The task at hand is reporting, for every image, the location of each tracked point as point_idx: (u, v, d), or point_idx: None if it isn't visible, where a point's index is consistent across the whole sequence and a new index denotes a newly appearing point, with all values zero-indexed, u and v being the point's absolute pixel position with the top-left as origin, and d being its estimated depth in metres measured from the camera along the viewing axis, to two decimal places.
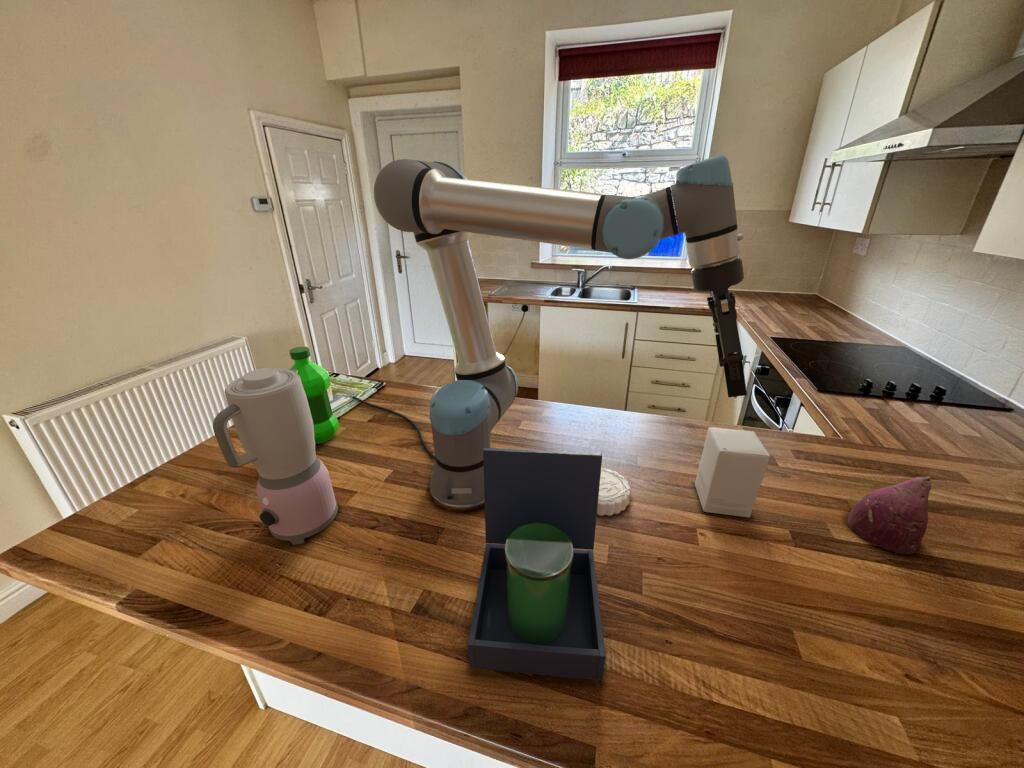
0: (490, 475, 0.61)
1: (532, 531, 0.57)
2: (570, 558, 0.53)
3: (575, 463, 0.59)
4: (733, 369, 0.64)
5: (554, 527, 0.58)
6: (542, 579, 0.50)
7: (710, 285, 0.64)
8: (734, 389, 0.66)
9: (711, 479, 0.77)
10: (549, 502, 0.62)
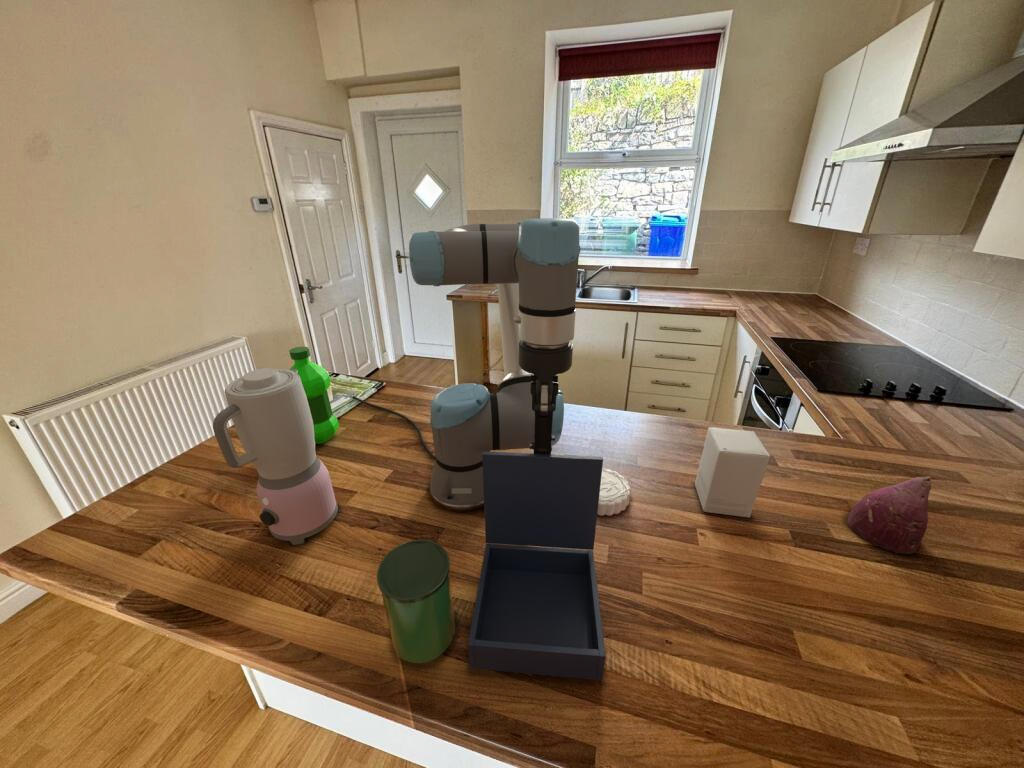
0: (489, 478, 0.61)
1: (413, 549, 0.55)
2: (442, 578, 0.51)
3: (575, 467, 0.58)
4: None
5: (437, 545, 0.56)
6: (407, 601, 0.49)
7: None
8: None
9: (711, 479, 0.77)
10: (549, 505, 0.62)
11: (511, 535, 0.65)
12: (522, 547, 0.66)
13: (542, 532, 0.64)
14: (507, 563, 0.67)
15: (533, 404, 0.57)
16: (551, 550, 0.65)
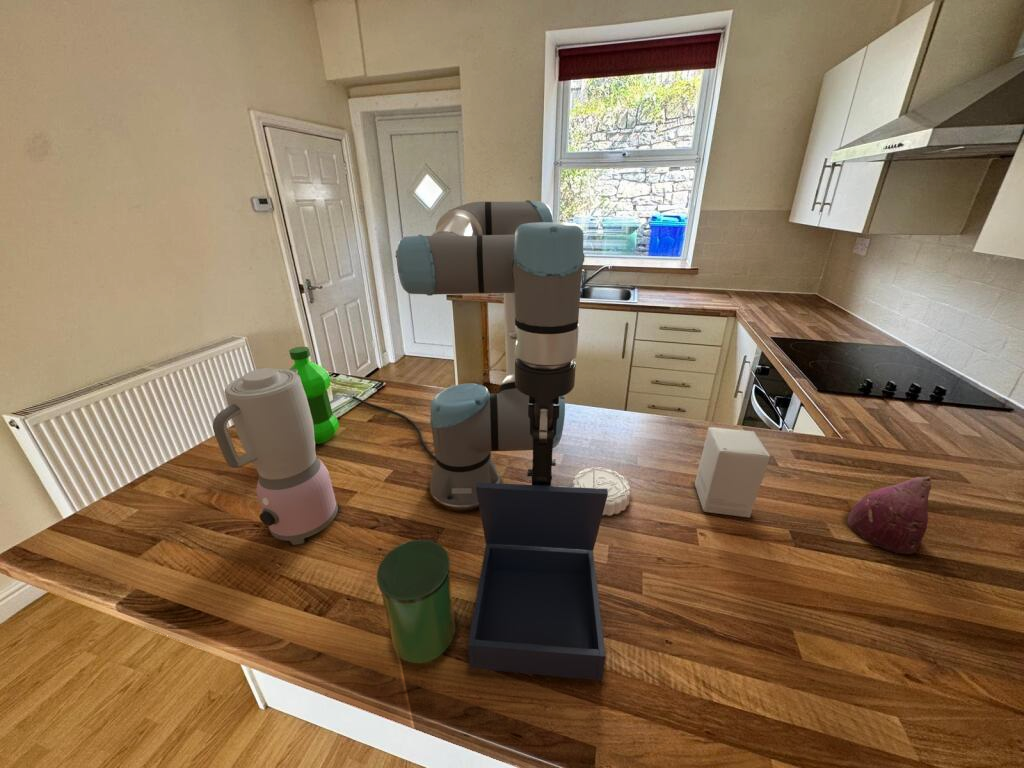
0: (485, 504, 0.57)
1: (413, 549, 0.55)
2: (442, 578, 0.51)
3: (577, 498, 0.54)
4: None
5: (437, 545, 0.56)
6: (407, 601, 0.49)
7: None
8: None
9: (711, 479, 0.77)
10: (549, 522, 0.59)
11: (511, 540, 0.64)
12: (522, 547, 0.66)
13: (542, 539, 0.63)
14: (507, 563, 0.67)
15: (531, 428, 0.52)
16: (551, 550, 0.65)
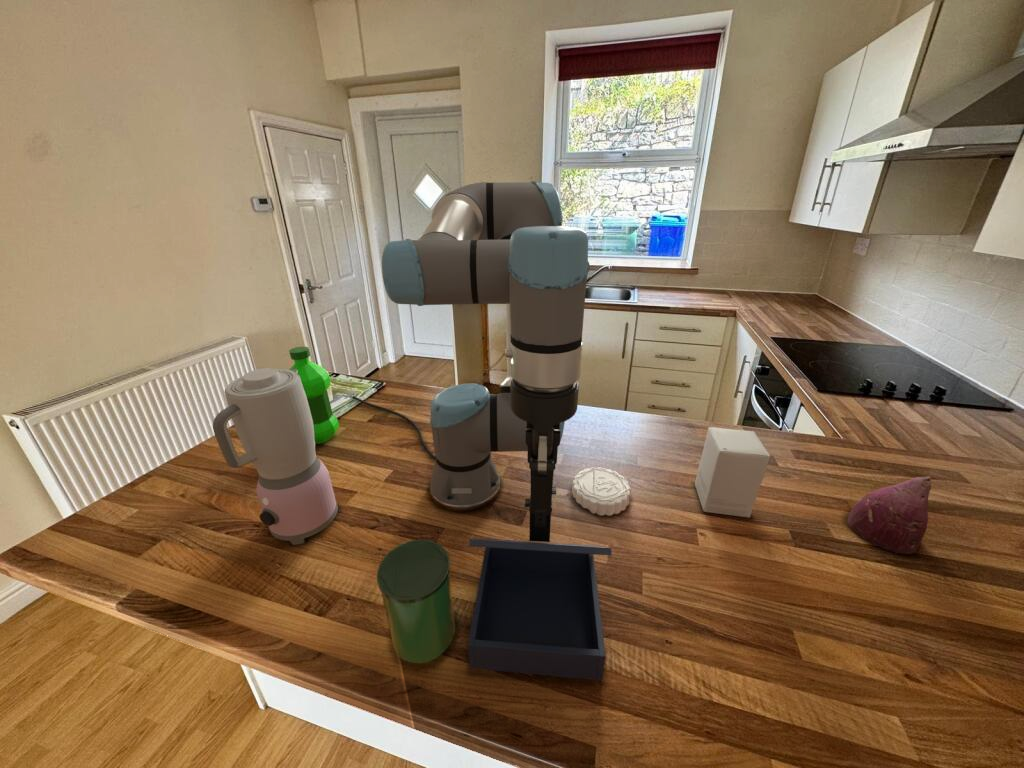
0: None
1: (413, 549, 0.55)
2: (442, 578, 0.51)
3: None
4: None
5: (437, 545, 0.56)
6: (407, 601, 0.49)
7: None
8: None
9: (711, 479, 0.77)
10: None
11: None
12: None
13: None
14: (507, 563, 0.67)
15: (529, 456, 0.46)
16: None
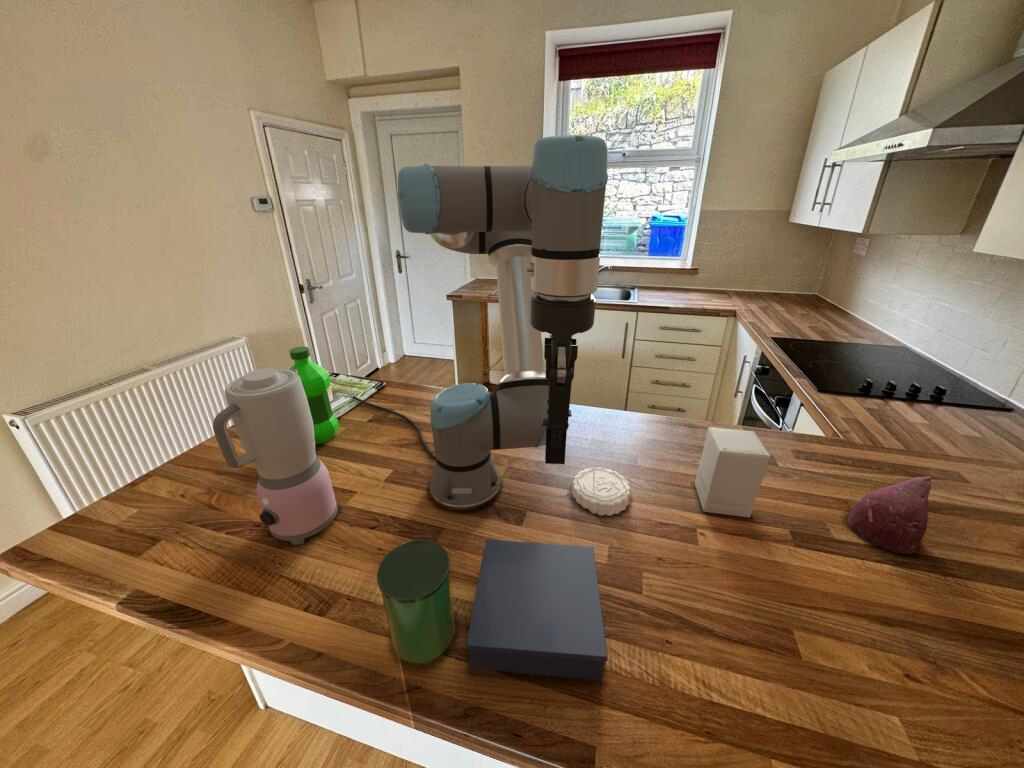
0: None
1: (413, 549, 0.55)
2: (442, 578, 0.51)
3: None
4: None
5: (437, 545, 0.56)
6: (407, 601, 0.49)
7: None
8: None
9: (711, 479, 0.77)
10: None
11: None
12: None
13: None
14: None
15: (547, 371, 0.48)
16: None
